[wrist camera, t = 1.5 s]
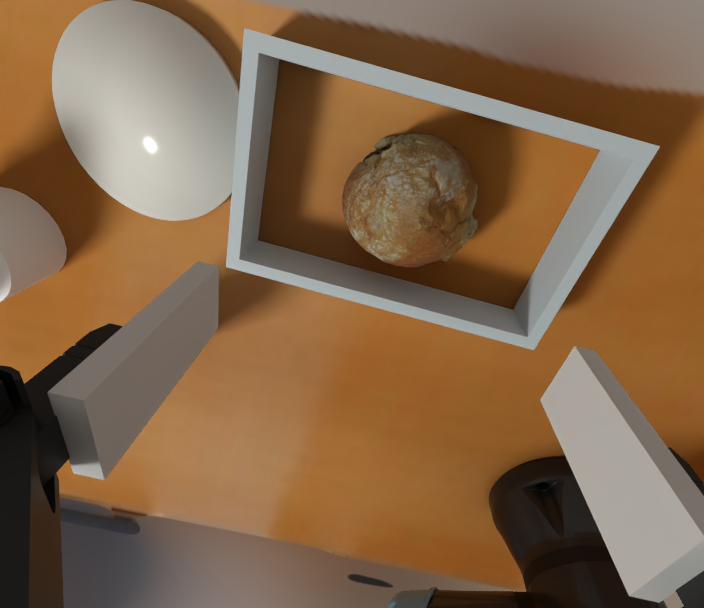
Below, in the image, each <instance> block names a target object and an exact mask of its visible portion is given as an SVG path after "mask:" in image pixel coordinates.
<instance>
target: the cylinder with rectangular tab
mask: <svg viewBox="0 0 704 608" xmlns="http://www.w3.org/2000/svg"><path fill="white" fill-rule="evenodd" d="M66 253H67V248H66V244H65V240H64V237H63V235H62V233H61V231H60V229H59V226H58V225H57V223H56V222H55V221H54V219H53V218H52V217H51V215H50V214H49V213H48V212H47V211H46V210H45V209H44V208H43V207H42V206H41V205H40V204H39V203H37V202H36V201H34V200H33V199H31V198H30V197H28V196H27V195H25V194H23V193H21V192H18V191H16V190H14V189H9V188H4V187H0V302H1V301H3V300H5V299H7V298H9V297H11V296H13V295H15V294H17V293H19V292H21V291H22V290H24V289H26V288H28V287H30V286H32V285H34V284H36V283H38V282H40V281H42V280H44V279H46V278H48V277H50V276H52V275H54V274H56V273H57V272H58V271H59V270H60V269H61V268H62V267H63V266H64V263H65V261H66Z"/></svg>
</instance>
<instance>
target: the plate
mask: <svg viewBox="0 0 704 608" xmlns="http://www.w3.org/2000/svg"><path fill="white" fill-rule="evenodd" d="M52 89H53V99H54V104H55V109H56V113H57V116H58V120H59V123H60V126H61V128H62V131H63V133H64V136H65V138H66V140H67V142H68V144H69V146H70V148H71V150H72V151H73V153H74V155H75V156H76V158H77V159H78V161H79V162H80V164H81V165H82V167H83V168H84V169H85V170H86V172H87V173H88V174H89V175H90V177H91V178H92V179H93V180H94V181H95V182H96V183H97V184H98V185H99V186H100V187H101V188H102V189H103V190H105V191H106V192H107V193H108V194H109V195H110V196H112V197H113V198H114V199H116V200H117V201H119V202H120V203H122V204H123V205H125V206H127V207H128V208H130V209H132V210H134V211H136V212H139V213H141V214H144V215H147V216H149V217H152V218H157V219H162V220H172V221H177V220H188V219H192V218H196V217H199V216H202V215H204V214H206V213H208V212H210V211H211V210H213V209H215V208H217V207H218V206H220V205H221V204H222V203H223V202H225V201H226V200H227V199H228V198H229V197H230V196H231V195H232V182H233V169H234V156H235V143H236V130H237V117H238V103H239V90H240V87H239V85H238V82H237V80H236V78H235V76H234V74H233V73H232V71H231V69H230V67H229V65H228V64H227V62H226V61H225V60H224V58H223V57H222V55H221V54H220V53H219V51H218V50H217V49H216V48H215V47H214V45H213V44H212V43H211V42H210V41H209V40H208V39H207V38H206V37H205V36H204V35H203V34H202V33H201V32H199V31H198V30H197V29H196V28H195V27H193V26H192V25H191V24H189V23H188V22H186V21H185V20H184V19H182V18H180V17H178V16H176V15H174V14H173V13H171V12H168V11H166V10H163V9H160V8H158V7H155V6H152V5H149V4H147V3H143V2H138V1H133V0H112V1H106V2H102V3H99V4H96V5H94V6H91V7H90V8H88V9H86V10H85V11H83V12H81V13H80V14H79V15H78V16H77V17H76V18H75V19H74V20H73V21H72V22H71V23H70V24H69V26H68V27H67V28H66V30H65V31H64V33H63V35H62V37H61V39H60V41H59V43H58V46H57V49H56V53H55V56H54V62H53V68H52Z"/></svg>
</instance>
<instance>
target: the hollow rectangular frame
mask: <svg viewBox="0 0 704 608" xmlns="http://www.w3.org/2000/svg"><path fill="white" fill-rule="evenodd" d="M280 59H281V60H284V61H288V62H291V63H295V64H298V65H302V66H305V67H309V68H312V69H316V70H319V71H323V72H327V73H330V74H334V75H337V76H341V77H344V78H348V79H351V80H355V81H358V82H362V83H365V84H369V85H372V86H376V87H380V88H383V89H387V90H390V91H394V92H397V93H401V94H404V95H408V96H411V97H415V98H418V99H422V100H426V101H429V102H433V103H436V104H440V105H443V106H447V107H450V108H454V109H457V110H461V111H464V112H468V113H472V114H475V115H479V116H482V117H486V118H489V119H493V120H496V121H500V122H503V123H507V124H510V125H514V126H517V127H521V128H525V129H528V130H532V131H535V132H539V133H542V134H546V135H549V136H553V137H556V138H560V139H563V140H567V141H571V142H574V143H578V144H581V145H585V146H588V147H592V148H595V149H599V150H600V151H599V153H598V155H597V157H596V159H595V161H594V162H593V164H592V166H591V168H590V170H589V172H588V173H587V175H586V177H585V179H584V181H583V183H582V184H581V186H580V188H579V190H578V192H577V194H576V195H575V197H574V199H573V201H572V203H571V205H570V206H569V208H568V210H567V212H566V214H565V216H564V217H563V219H562V221H561V223H560V225H559V227H558V228H557V230H556V232H555V234H554V236H553V237H552V239H551V241H550V243H549V245H548V247H547V248H546V250H545V252H544V254H543V256H542V258H541V259H540V261H539V263H538V265H537V267H536V269H535V270H534V272H533V274H532V276H531V278H530V280H529V281H528V283H527V285H526V287H525V289H524V291H523V292H522V294H521V296H520V298H519V300H518V302H517V303H516V305H515V307H514V309H509V308H505V307H502V306H498V305H494V304H490V303H487V302H483V301H479V300H476V299H472V298H468V297H465V296H461V295H457V294H454V293H450V292H446V291H443V290H439V289H435V288H432V287H428V286H424V285H421V284H417V283H413V282H410V281H406V280H402V279H399V278H395V277H391V276H388V275H384V274H380V273H376V272H373V271H369V270H365V269H362V268H358V267H354V266H351V265H347V264H343V263H340V262H336V261H332V260H329V259H325V258H321V257H318V256H314V255H310V254H307V253H303V252H299V251H296V250H292V249H288V248H285V247H281V246H277V245H273V244H270V243H266V242H262V241H259V240H258V236H259V228H260V219H261V211H262V202H263V194H264V186H265V177H266V169H267V161H268V152H269V144H270V135H271V127H272V119H273V110H274V102H275V93H276V85H277V77H278V68H279V60H280ZM659 147H660V146H657V145H654V144H650V143H646V142H643V141H639V140H636V139H632V138H629V137H625V136H622V135H618V134H615V133H611V132H608V131H604V130H601V129H597V128H594V127H590V126H587V125H583V124H580V123H576V122H573V121H569V120H565V119H562V118H558V117H555V116H551V115H548V114H544V113H541V112H537V111H534V110H530V109H527V108H523V107H520V106H516V105H513V104H509V103H506V102H502V101H499V100H495V99H492V98H488V97H484V96H481V95H477V94H474V93H470V92H467V91H463V90H460V89H456V88H453V87H449V86H446V85H442V84H439V83H435V82H432V81H428V80H425V79H421V78H418V77H414V76H411V75H407V74H403V73H400V72H396V71H393V70H389V69H386V68H382V67H379V66H375V65H372V64H368V63H365V62H361V61H358V60H354V59H351V58H347V57H344V56H340V55H337V54H333V53H330V52H326V51H322V50H319V49H315V48H312V47H308V46H305V45H301V44H298V43H294V42H291V41H287V40H284V39H280V38H277V37H273V36H270V35H266V34H263V33H259V32H256V31H252V30H249V29H245V28H244V37H243V51H242V64H241V77H240V90H239V103H238V117H237V130H236V143H235V156H234V169H233V182H232V196H231V209H230V222H229V235H228V248H227V262H226V267H227V268H231V269H235V270H239V271H242V272H246V273H250V274H253V275H257V276H261V277H265V278H268V279H272V280H276V281H279V282H283V283H287V284H290V285H294V286H298V287H302V288H305V289H309V290H313V291H316V292H320V293H324V294H328V295H331V296H335V297H339V298H342V299H346V300H350V301H353V302H357V303H361V304H365V305H368V306H372V307H376V308H379V309H383V310H387V311H391V312H394V313H398V314H402V315H405V316H409V317H413V318H416V319H420V320H424V321H428V322H431V323H435V324H439V325H442V326H446V327H450V328H454V329H457V330H461V331H465V332H468V333H472V334H476V335H479V336H483V337H487V338H491V339H494V340H498V341H502V342H505V343H509V344H513V345H517V346H520V347H524V348H528V349H531V350H534V349H535V347H536V346H537V344H538V342H539V341H540V339H541V338H542V336H543V334H544V333H545V331H546V330H547V328H548V326H549V325H550V323H551V322H552V320H553V318H554V317H555V315H556V313H557V312H558V310H559V309H560V307H561V305H562V304H563V302H564V301H565V299H566V297H567V296H568V294H569V293H570V291H571V289H572V288H573V286H574V284H575V283H576V281H577V280H578V278H579V276H580V275H581V273H582V272H583V270H584V268H585V267H586V265H587V264H588V262H589V260H590V259H591V257H592V255H593V254H594V252H595V251H596V249H597V247H598V246H599V244H600V243H601V241H602V239H603V238H604V236H605V235H606V233H607V231H608V230H609V228H610V226H611V225H612V223H613V222H614V220H615V218H616V217H617V215H618V214H619V212H620V210H621V209H622V207H623V205H624V204H625V202H626V201H627V199H628V197H629V196H630V194H631V193H632V191H633V189H634V188H635V186H636V185H637V183H638V181H639V180H640V178H641V176H642V175H643V173H644V172H645V170H646V168H647V167H648V165H649V164H650V162H651V160H652V159H653V157H654V156H655V154H656V152H657V151H658V149H659Z"/></svg>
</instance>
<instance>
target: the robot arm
mask: <svg viewBox="0 0 704 608" xmlns="http://www.w3.org/2000/svg"><path fill="white" fill-rule="evenodd" d="M218 309H219V266H216V265H212V264H207V263H203V262H197V263H195V264H194V265H193V266H192V267H191V268H190V269H189V270H187V271H186V272H185V273H184V274H183V275H182V276H181V277H179V278H178V279H177V280H176V281H175V282H174V283H172V284H171V285H170V286H169V287H168V288H167V289H166V290H164V291H163V292H162V293H161V294H160V295H159V296H157V297H156V298H155V299H154V300H153V301H152V302H151V303H149V304H148V305H147V306H146V307H145V308H144V309H143V310H141V311H140V312H139V313H138V314H137V315H136V316H134V317H133V318H132V319H131V320H130V321H129V322H128V323H126V324H125V325H124V326H119V325H114V324H107V325H105V326H103V327H100V328H98V329H96V330H93V331H91V332H89V333H88V334H87V335H86V336H84V337H83V338H82V339H81V340H79V341H78V342H77V343H76V344H75V346H72V347H71V348H69V349H68V350H67V351H65V352H64V353H63V356H59V357H58V358H57V359H55V360H54V361H53V362H52V363H50V364H49V365H48V366H47V367H45V368H44V369H43V370H42V371H40V372H39V373H38V374H37V375H35V376H34V377H33V378H31V379H30V380H29V381H28V382H26V383H25V384H24V383H23V380H22V378H21V375H20V372H19V371H17V370H15V369H13V368H12V367H7V366H0V608H64V602H63V578H62V577H63V576H62V551H61V526H60V503H59V479H58V477H57V474H56V472H57V471H58V470H59V469H60V468H61V467H62V466H63V465H64V463H65V462H66V461H67V460H68V459H69V461H70V464H71V467H72V470H73V473H74V474H79V475H83V476H88V477H92V478H97V479H101V480H105V479H106V477H107V476H108V475H109V473H110V472H111V471H112V469H113V468H114V467H115V465H116V464H117V463H118V461H119V460H120V459H121V457H122V456H123V455H124V453H125V452H126V451H127V449H128V448H129V447H130V445H131V444H132V443H133V441H134V440H135V439H136V437H137V436H138V435H139V433H140V432H141V431H142V429H143V428H144V427H145V425H146V424H147V423H148V421H149V420H150V419H151V417H152V416H153V415H154V413H155V412H156V411H157V409H158V408H159V407H160V405H161V404H162V403H163V401H164V400H165V399H166V397H167V396H168V395H169V393H170V392H171V391H172V389H173V388H174V386H175V385H176V384H177V382H178V381H179V380H180V378H181V377H182V376H183V374H184V373H185V372H186V370H187V369H188V368H189V366H190V365H191V364H192V362H193V361H194V360H195V358H196V357H197V356H198V354H199V353H200V352H201V350H202V349H203V348H204V346H205V345H206V344H207V342H208V341H209V340H210V338H211V337H212V336H213V334H214V333H215V332H216V330H217V329H218ZM540 401H541V403H542V405H543V407H544V409H545V412H546V414H547V416H548V418H549V421H550V423H551V425H552V427H553V429H554V432H555V434H556V436H557V438H558V440H559V443H560V445H561V447H562V449H563V451H564V454H565V456H566V458H550V459H542V460H537V461H533V462H529V463H526V464H523V465H521V466H518V467H516V468H514V469H512V470H510V471H509V472H507V473H506V474H504V475H503V476H502V477H501V478H500V479H499V480H498V481H497V482H496V483H495V484H494V486H493V488H492V489H491V492H490V496H489V504H490V508H491V513H492V517H493V521H494V524H495V526H496V528H497V530H498V531H499V532H500V534H501V535H502V537H503V539H504V541H505V543H506V545H507V547H508V548H509V550H510V552H511V554H512V556H513V558H514V559H515V561H516V563H517V565H518V567H519V568H520V570H521V573H522V575H523V579H524V583H525V587H526V591H527V592H513V591H451V590H438V589H437V587H432V588H430V589H429V590H411V591H402V592H399V593H398V594H396V595H395V596H394V597H393V598H392V600H391V601H390V603H389V605H388V607H387V608H667V606H666V604H665V602H664V601H663V600H664V599H666V598H667V597H668V596H670V595H671V594H673V593H674V592H677V594H678V596H679V597H680V599H681V601H682V603H683V605H684V607H682V608H704V486H703V482H702V481H701V479H700V478H699V477H698V475H697V474H696V473H695V472H694V470H693V469H692V468H691V466H690V465H689V464H688V463H687V462H686V461H685V460H683V459H682V458H681V457H680V456H679V455H678V454H677V453H676V452H675V451H674V450H672V449H671V448H669V447H667V446H666V445H665V443H664V442H663V441H662V439H661V438H660V437H659V435H658V434H657V433H656V431H655V430H654V429H653V427H652V426H651V425H650V423H649V422H648V421H647V419H646V418H645V417H644V415H643V414H642V413H641V411H640V410H639V409H638V407H637V406H636V405H635V403H634V402H633V400H632V399H631V398H630V396H629V395H628V394H627V392H626V391H625V390H624V388H623V387H622V386H621V384H620V383H619V382H618V380H617V379H616V378H615V376H614V375H613V374H612V372H611V371H610V370H609V368H608V367H607V366H606V364H605V363H604V362H603V360H602V359H601V358H600V356H599V355H598V354H597V352H596V351H594V350H590V349H585V348H581V347H576V346H574V348H573V350H572V351H571V353H570V354H569V356H568V357H567V359H566V360H565V362H564V364H563V365H562V367H561V368H560V370H559V371H558V373H557V374H556V376H555V378H554V379H553V381H552V382H551V384H550V385H549V387H548V389H547V390H546V392H545V393H544V395H543V396H542V398H541V399H540Z"/></svg>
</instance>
